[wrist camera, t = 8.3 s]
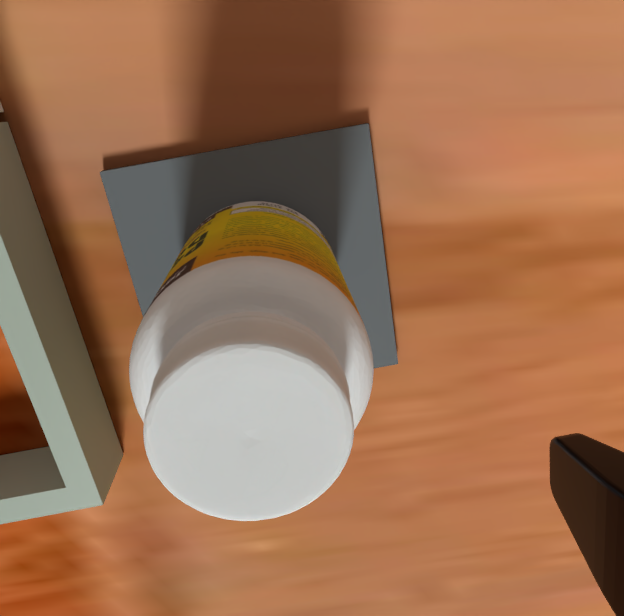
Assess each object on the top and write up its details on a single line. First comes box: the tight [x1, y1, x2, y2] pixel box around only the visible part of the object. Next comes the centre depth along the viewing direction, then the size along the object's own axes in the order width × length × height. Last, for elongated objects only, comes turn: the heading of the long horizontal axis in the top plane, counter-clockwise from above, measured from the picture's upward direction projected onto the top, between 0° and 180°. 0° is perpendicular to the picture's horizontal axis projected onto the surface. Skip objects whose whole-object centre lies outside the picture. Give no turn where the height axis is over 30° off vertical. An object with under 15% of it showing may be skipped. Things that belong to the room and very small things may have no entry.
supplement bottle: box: [129, 201, 374, 521], centre depth 15 cm, size 6×6×10 cm
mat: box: [100, 123, 398, 368], centre depth 20 cm, size 9×9×1 cm
